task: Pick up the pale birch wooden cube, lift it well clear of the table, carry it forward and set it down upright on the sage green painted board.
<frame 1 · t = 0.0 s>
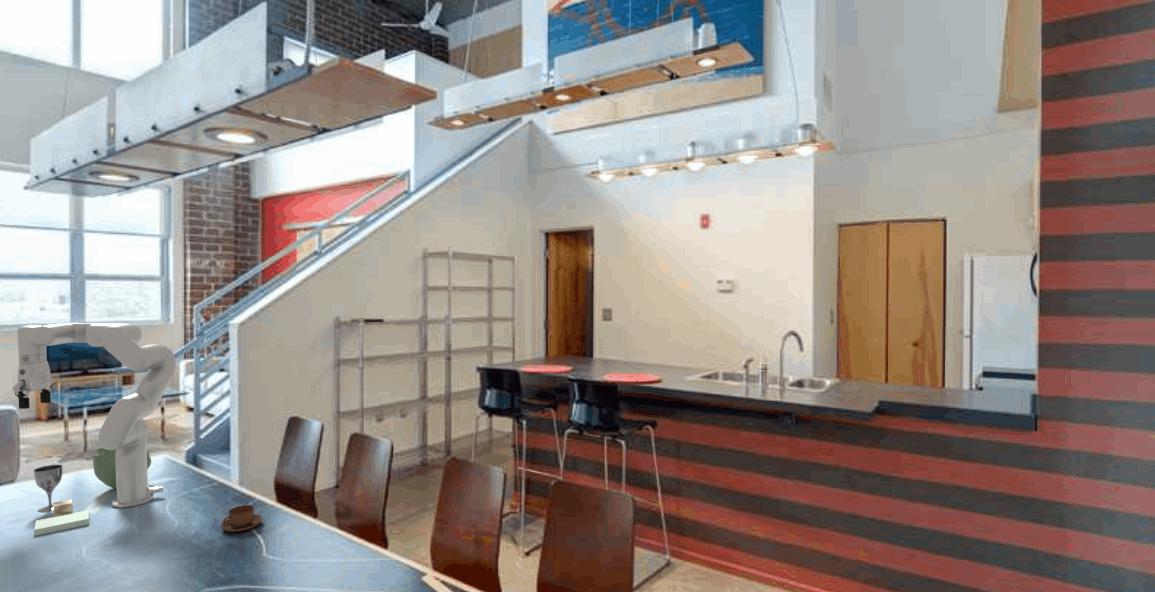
hand: (35, 405, 227), 37 cm above the table, tool pointing down, fingers open, 9 cm apart
sage board: (62, 525, 210), on the table
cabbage: (123, 487, 247), on the table
wine glass: (50, 509, 226), on the table
birch cube: (63, 516, 218), on the table
cup and saucer: (242, 528, 206), on the table
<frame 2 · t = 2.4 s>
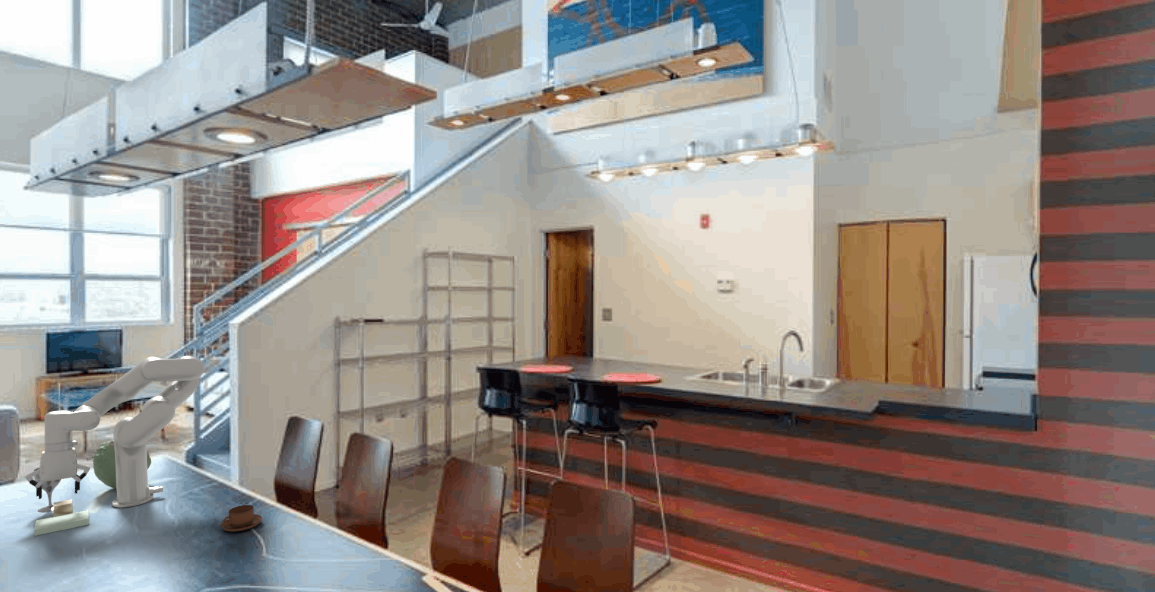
hand: (58, 495, 217), 8 cm above the table, tool pointing down, fingers open, 9 cm apart
nothing on the table moved.
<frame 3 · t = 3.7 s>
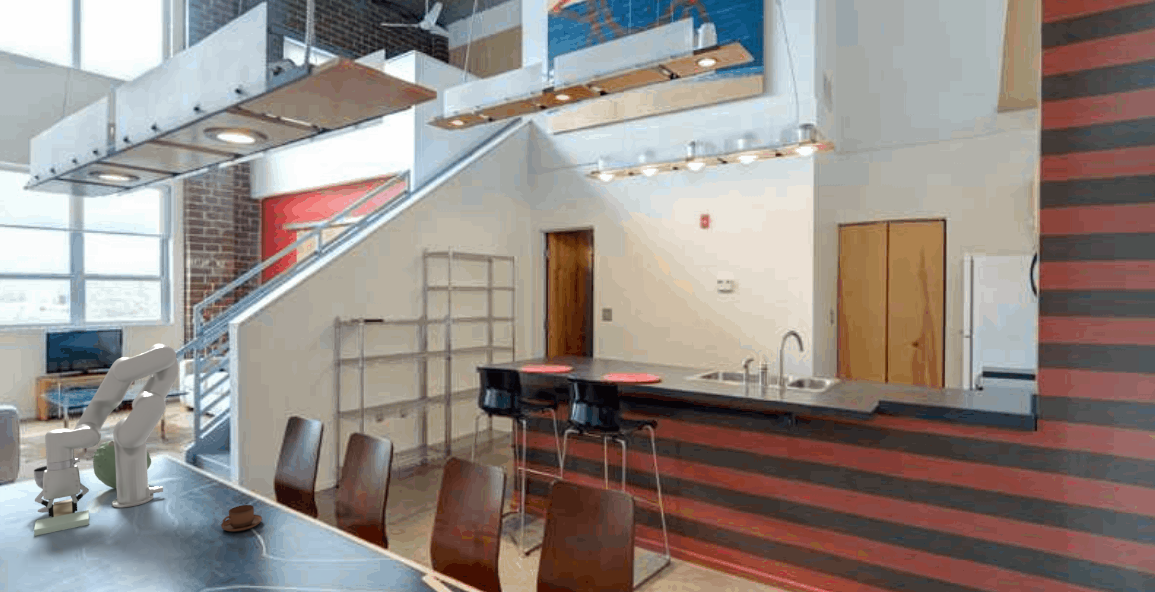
hand: (63, 515, 218), 0 cm above the table, tool pointing down, fingers closed on birch cube, 5 cm apart
birch cube: (63, 516, 218), on the table, touching gripper
everything else where it was.
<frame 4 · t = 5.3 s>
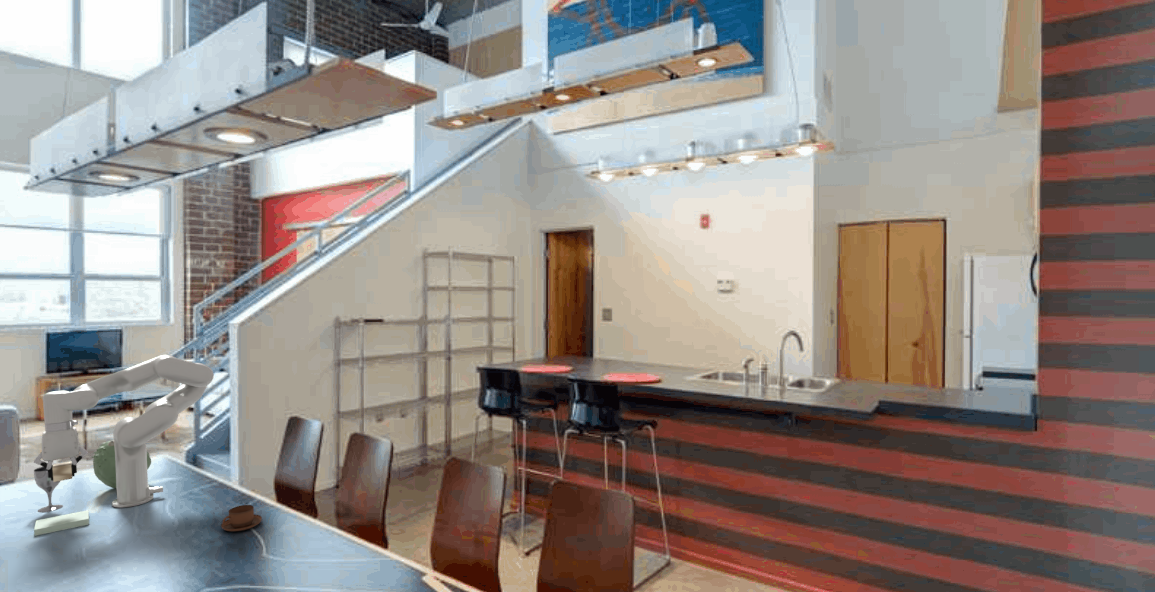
hand: (63, 477, 218), 14 cm above the table, tool pointing down, fingers closed on birch cube, 5 cm apart
birch cube: (63, 478, 218), point 13 cm above the table, touching gripper
everything else where it was.
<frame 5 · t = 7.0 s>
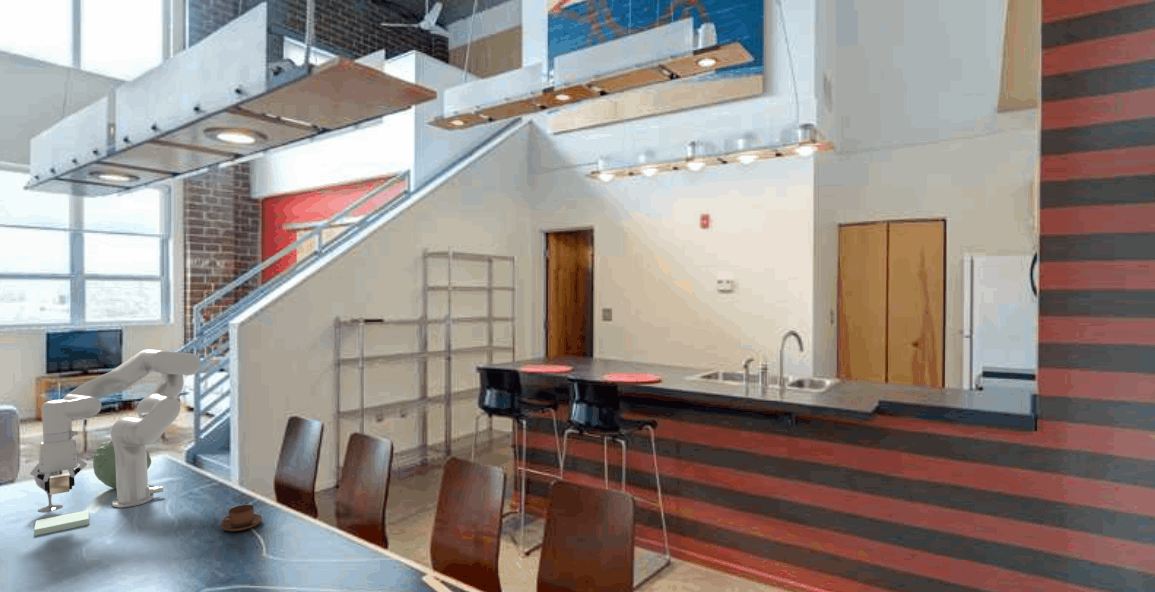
hand: (60, 489, 209), 12 cm above the table, tool pointing down, fingers closed on birch cube, 5 cm apart
birch cube: (60, 491, 209), point 12 cm above the table, touching gripper
everything else where it was.
when the fingers open (4 cm above the table, at t = 9.2 s): birch cube drops 1 cm, resting on sage board.
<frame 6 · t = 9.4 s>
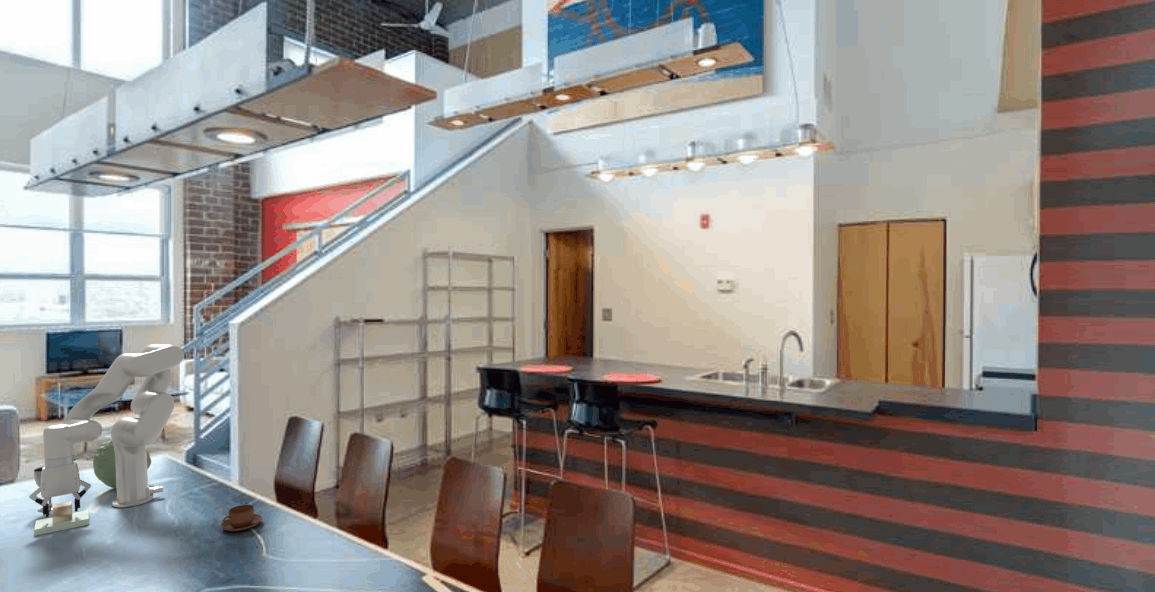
hand: (62, 513, 210), 4 cm above the table, tool pointing down, fingers open, 7 cm apart
birch cube: (62, 519, 210), point 2 cm above the table, touching sage board
everything else where it was.
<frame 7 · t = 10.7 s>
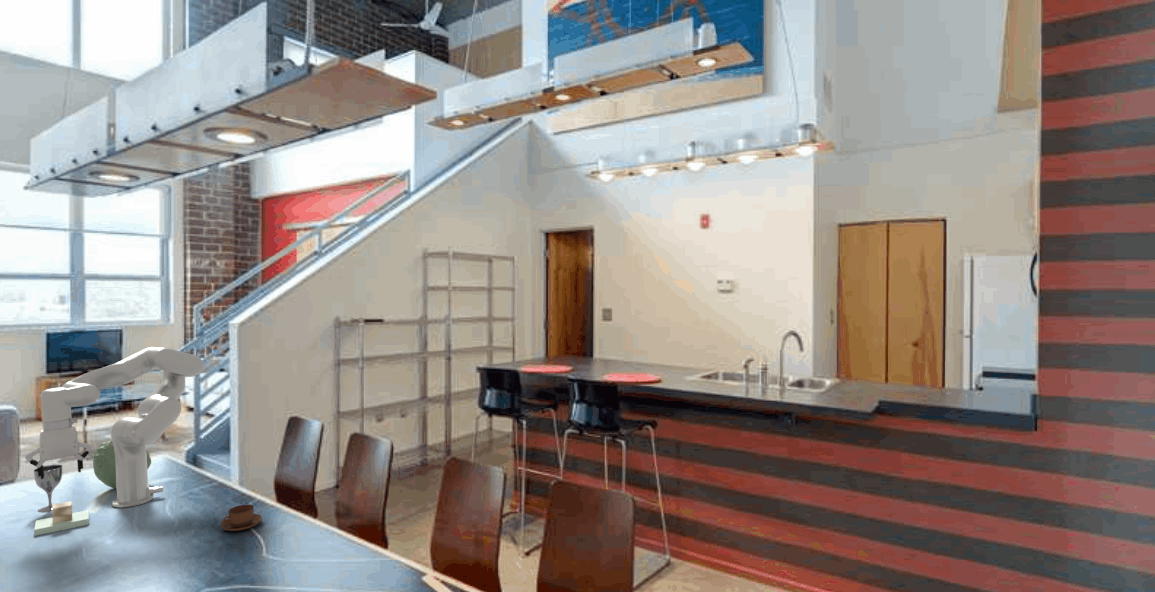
hand: (61, 474, 210), 17 cm above the table, tool pointing down, fingers open, 9 cm apart
nothing on the table moved.
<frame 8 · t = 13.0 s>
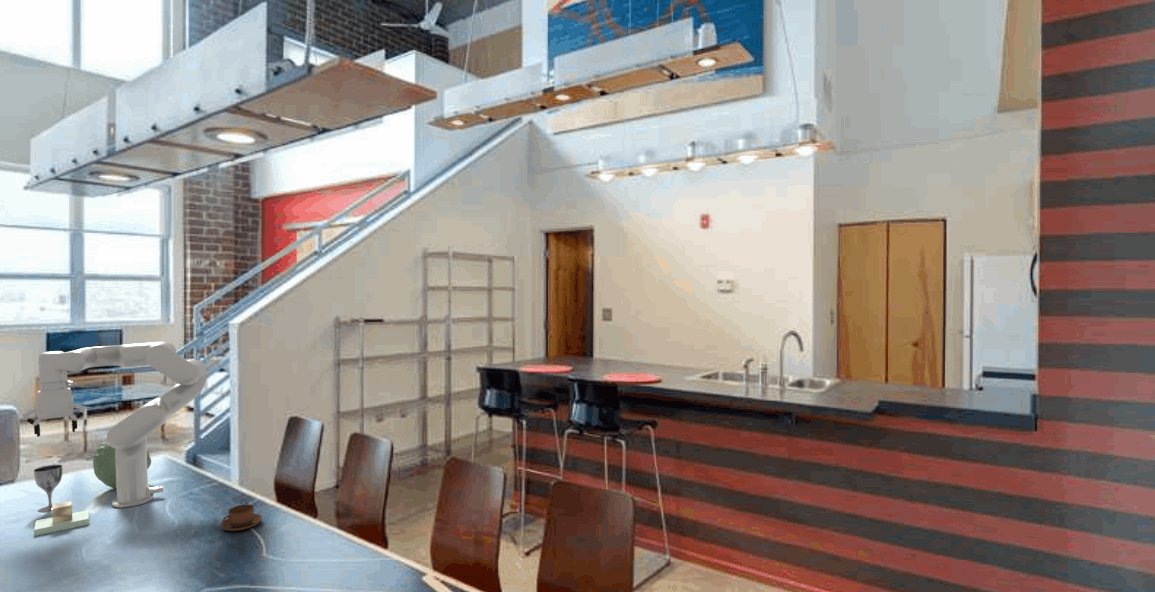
hand: (56, 433, 222), 28 cm above the table, tool pointing down, fingers open, 9 cm apart
nothing on the table moved.
at the end: birch cube inside the target area on the sage board (0.1 cm from its centre), point 2.0 cm above the sage board's base; birch cube tilted 0°; the gripper is holding nothing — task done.
